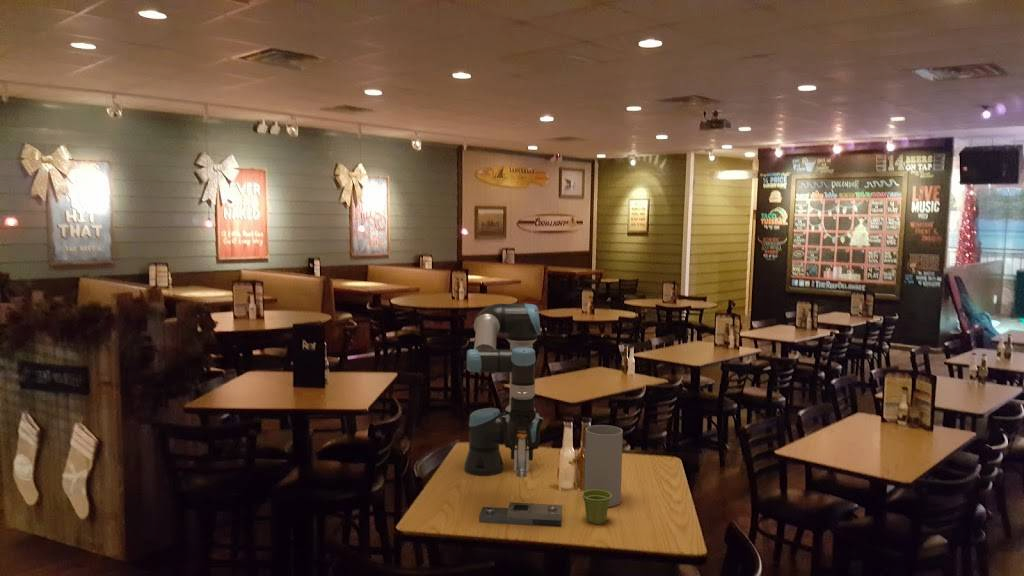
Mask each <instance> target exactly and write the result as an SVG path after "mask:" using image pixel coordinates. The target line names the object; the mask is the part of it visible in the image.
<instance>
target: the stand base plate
mask: <svg viewBox="0 0 1024 576" xmlns="http://www.w3.org/2000/svg"><path fill="white" fill-rule="evenodd" d="M562 519H563V504H551V503H532V502H531V503H530V502H515V501H514V502H512V501H511V502H509V504H508V507H494V506H482V508H481V511H480V513H479V515H478V523H485V524H486V523H488V524H503V525H504V524H507V525H520V526H521V525H524V526H538V527H539V526H540V527H559V528H561V527H562V521H563V520H562Z"/></svg>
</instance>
